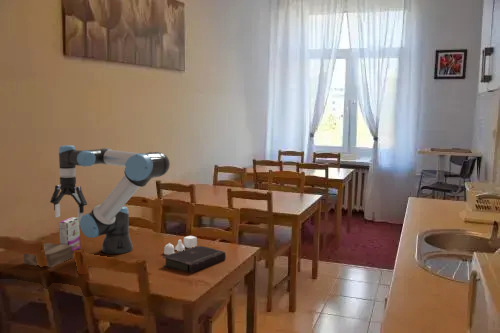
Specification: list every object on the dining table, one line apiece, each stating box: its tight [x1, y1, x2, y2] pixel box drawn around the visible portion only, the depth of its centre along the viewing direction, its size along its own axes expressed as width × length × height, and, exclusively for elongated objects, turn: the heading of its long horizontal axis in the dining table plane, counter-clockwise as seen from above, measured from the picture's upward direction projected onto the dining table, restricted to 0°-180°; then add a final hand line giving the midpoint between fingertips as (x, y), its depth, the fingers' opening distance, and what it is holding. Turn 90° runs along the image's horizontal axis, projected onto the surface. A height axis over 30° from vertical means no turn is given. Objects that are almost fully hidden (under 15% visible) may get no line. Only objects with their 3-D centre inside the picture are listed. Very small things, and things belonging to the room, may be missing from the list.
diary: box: [162, 245, 226, 275], centre depth 224 cm, size 19×25×5 cm
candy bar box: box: [58, 216, 81, 251], centre depth 240 cm, size 11×5×16 cm, turn 168°
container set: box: [163, 235, 198, 256], centre depth 245 cm, size 20×5×6 cm, turn 142°
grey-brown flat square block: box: [23, 242, 74, 268], centre depth 225 cm, size 15×15×6 cm
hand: (68, 218), depth 239 cm, fingers open, 13 cm apart
